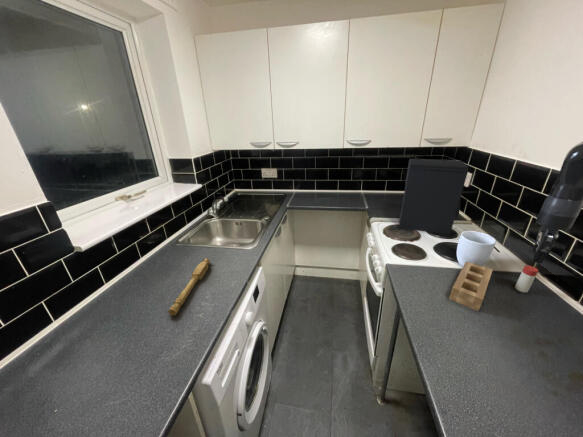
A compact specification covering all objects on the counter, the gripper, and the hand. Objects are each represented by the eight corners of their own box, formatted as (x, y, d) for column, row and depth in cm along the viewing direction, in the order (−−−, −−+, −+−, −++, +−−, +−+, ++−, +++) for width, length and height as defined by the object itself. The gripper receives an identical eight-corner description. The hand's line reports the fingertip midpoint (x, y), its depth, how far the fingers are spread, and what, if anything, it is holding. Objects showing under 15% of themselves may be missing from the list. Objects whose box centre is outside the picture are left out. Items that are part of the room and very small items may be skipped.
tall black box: (452, 221, 132) (470, 159, 118) (459, 236, 116) (480, 167, 102) (399, 214, 143) (409, 157, 129) (399, 228, 127) (410, 164, 112)
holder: (488, 280, 86) (492, 269, 84) (478, 311, 73) (483, 299, 71) (462, 271, 91) (466, 261, 89) (448, 298, 78) (452, 287, 76)
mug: (464, 251, 104) (473, 225, 98) (494, 263, 95) (505, 235, 90) (447, 262, 96) (455, 235, 91) (477, 276, 88) (488, 247, 83)
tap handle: (166, 309, 75) (203, 257, 102) (168, 316, 76) (205, 262, 103) (175, 309, 74) (210, 257, 102) (177, 316, 76) (211, 262, 103)
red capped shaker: (528, 289, 81) (538, 268, 77) (527, 294, 79) (538, 272, 75) (515, 284, 83) (524, 264, 80) (514, 289, 81) (524, 268, 77)
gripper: (580, 222, 62) (553, 271, 68) (575, 207, 71) (552, 251, 77) (541, 215, 67) (519, 261, 73) (541, 201, 76) (522, 244, 82)
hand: (536, 256), depth 75 cm, fingers open, 8 cm apart
